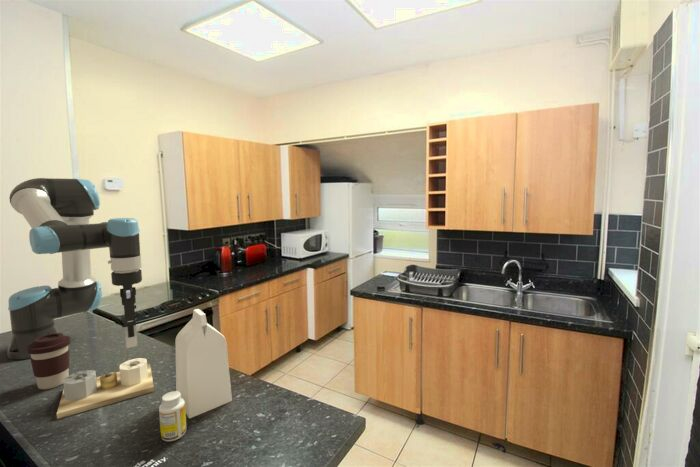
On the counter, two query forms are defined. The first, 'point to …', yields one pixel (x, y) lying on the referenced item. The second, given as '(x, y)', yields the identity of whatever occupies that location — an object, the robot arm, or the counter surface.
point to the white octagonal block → (133, 372)
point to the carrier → (105, 393)
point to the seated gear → (80, 385)
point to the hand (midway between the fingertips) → (131, 338)
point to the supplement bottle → (172, 416)
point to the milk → (202, 366)
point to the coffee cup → (50, 359)
